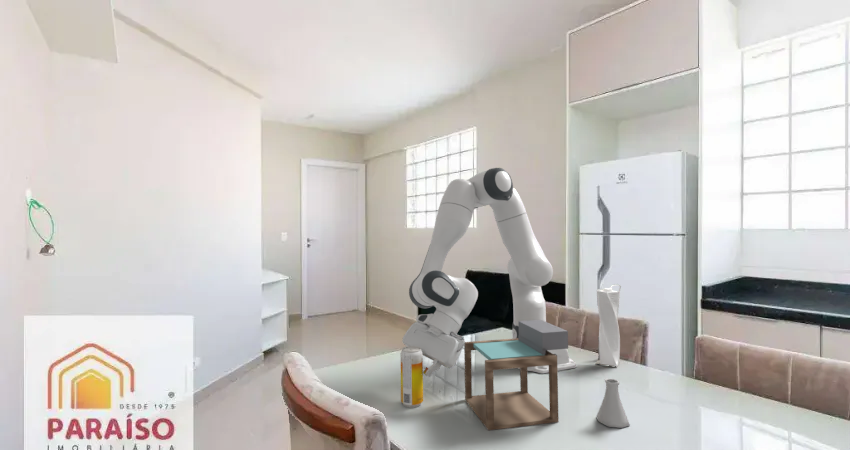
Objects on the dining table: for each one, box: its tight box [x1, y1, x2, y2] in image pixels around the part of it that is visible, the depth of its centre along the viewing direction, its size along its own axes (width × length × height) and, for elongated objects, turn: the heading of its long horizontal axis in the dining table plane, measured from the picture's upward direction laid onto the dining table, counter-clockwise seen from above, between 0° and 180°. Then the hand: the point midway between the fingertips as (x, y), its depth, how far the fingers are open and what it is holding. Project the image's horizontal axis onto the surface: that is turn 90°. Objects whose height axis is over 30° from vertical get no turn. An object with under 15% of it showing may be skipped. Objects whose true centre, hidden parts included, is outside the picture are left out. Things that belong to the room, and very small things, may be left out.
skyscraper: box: [595, 283, 622, 367], centre depth 142 cm, size 8×8×28 cm
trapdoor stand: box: [463, 338, 559, 431], centre depth 107 cm, size 18×18×16 cm
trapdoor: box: [473, 320, 569, 360], centre depth 107 cm, size 20×14×6 cm
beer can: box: [400, 346, 424, 408], centre depth 111 cm, size 6×6×15 cm
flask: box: [596, 378, 631, 429], centre depth 99 cm, size 7×7×10 cm
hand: (415, 369), depth 113 cm, fingers open, 8 cm apart
